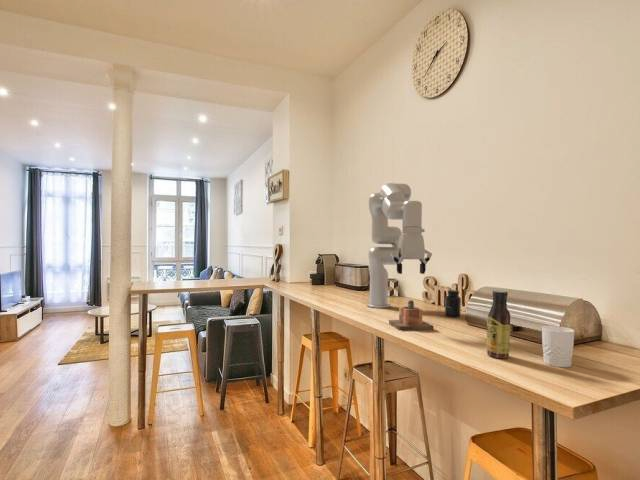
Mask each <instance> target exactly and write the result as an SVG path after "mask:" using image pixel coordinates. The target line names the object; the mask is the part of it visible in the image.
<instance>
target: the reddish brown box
mask: <svg viewBox="0 0 640 480" xmlns="http://www.w3.org/2000/svg"><path fill="white" fill-rule="evenodd" d="M398 320H399V321H400V322H401V323H403V324H405V325H422V321H423V309H422V308H420V307H417V306H414V309H408V306H399V308H398Z"/></svg>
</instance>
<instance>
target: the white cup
mask: <svg viewBox="0 0 640 480" xmlns="http://www.w3.org/2000/svg"><path fill="white" fill-rule="evenodd" d="M574 342H575V330H574V329H572V328H569V327H564V326H557V325H542V326H541V344H542V352H543V353H542V355H543V356H542V357H543V362H544V363H545V364H547V365H549V366H553V367H558V368H571V367H572V365H573V364H572V363H573V357H574V356H573V354H574Z"/></svg>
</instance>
